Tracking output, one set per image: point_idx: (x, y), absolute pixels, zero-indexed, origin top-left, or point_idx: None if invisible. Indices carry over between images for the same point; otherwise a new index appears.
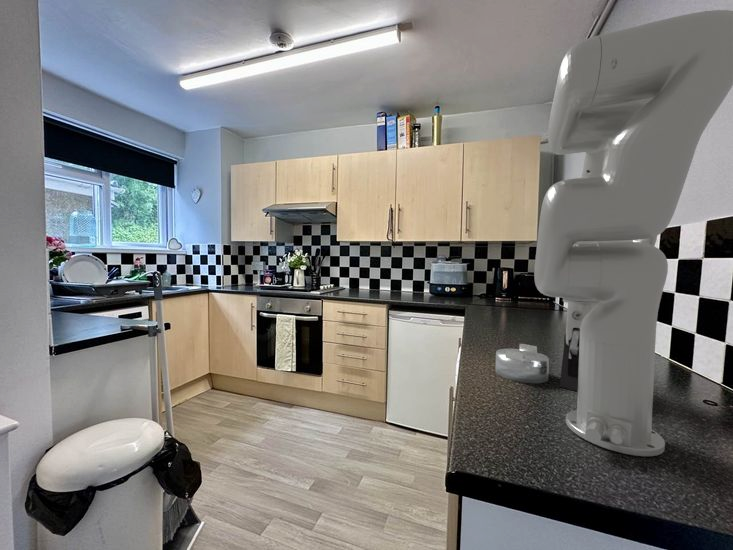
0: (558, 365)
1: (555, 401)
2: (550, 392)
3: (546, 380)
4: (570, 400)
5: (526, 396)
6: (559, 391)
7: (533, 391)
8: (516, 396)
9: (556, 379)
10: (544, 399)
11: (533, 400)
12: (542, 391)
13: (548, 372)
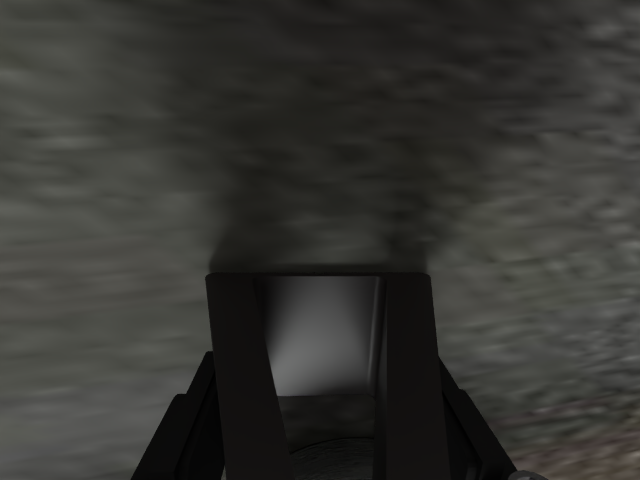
0: (34, 461)
1: (599, 363)
2: (502, 397)
3: (370, 443)
4: (553, 326)
5: (602, 440)
6: (465, 377)
7: (531, 439)
8: (621, 460)
9: (298, 418)
10: (599, 394)
11: (631, 416)
12: (510, 419)
13: (326, 475)
